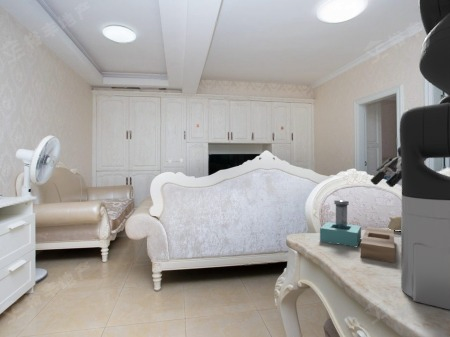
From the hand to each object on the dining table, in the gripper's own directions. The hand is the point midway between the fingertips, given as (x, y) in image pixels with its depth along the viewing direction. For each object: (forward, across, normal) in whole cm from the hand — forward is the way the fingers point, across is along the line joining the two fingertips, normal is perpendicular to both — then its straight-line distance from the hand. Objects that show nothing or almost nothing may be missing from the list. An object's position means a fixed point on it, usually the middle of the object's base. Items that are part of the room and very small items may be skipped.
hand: (380, 183), depth 76 cm
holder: (+20, 0, +4) cm, 21 cm away
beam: (+15, +8, +9) cm, 20 cm away
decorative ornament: (+4, -13, +21) cm, 25 cm away
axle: (+20, 0, +4) cm, 21 cm away
